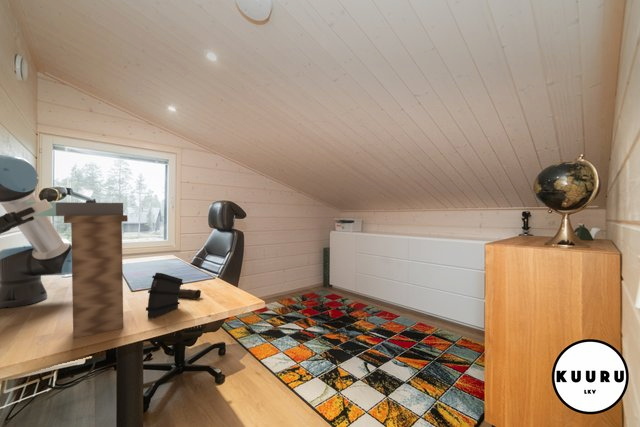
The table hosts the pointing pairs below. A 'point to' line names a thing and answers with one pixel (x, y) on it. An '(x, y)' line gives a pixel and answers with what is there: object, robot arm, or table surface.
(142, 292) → the table surface
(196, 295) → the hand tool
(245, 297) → the table surface
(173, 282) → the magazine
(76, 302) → the walnut stand
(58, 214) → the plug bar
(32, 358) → the table surface
